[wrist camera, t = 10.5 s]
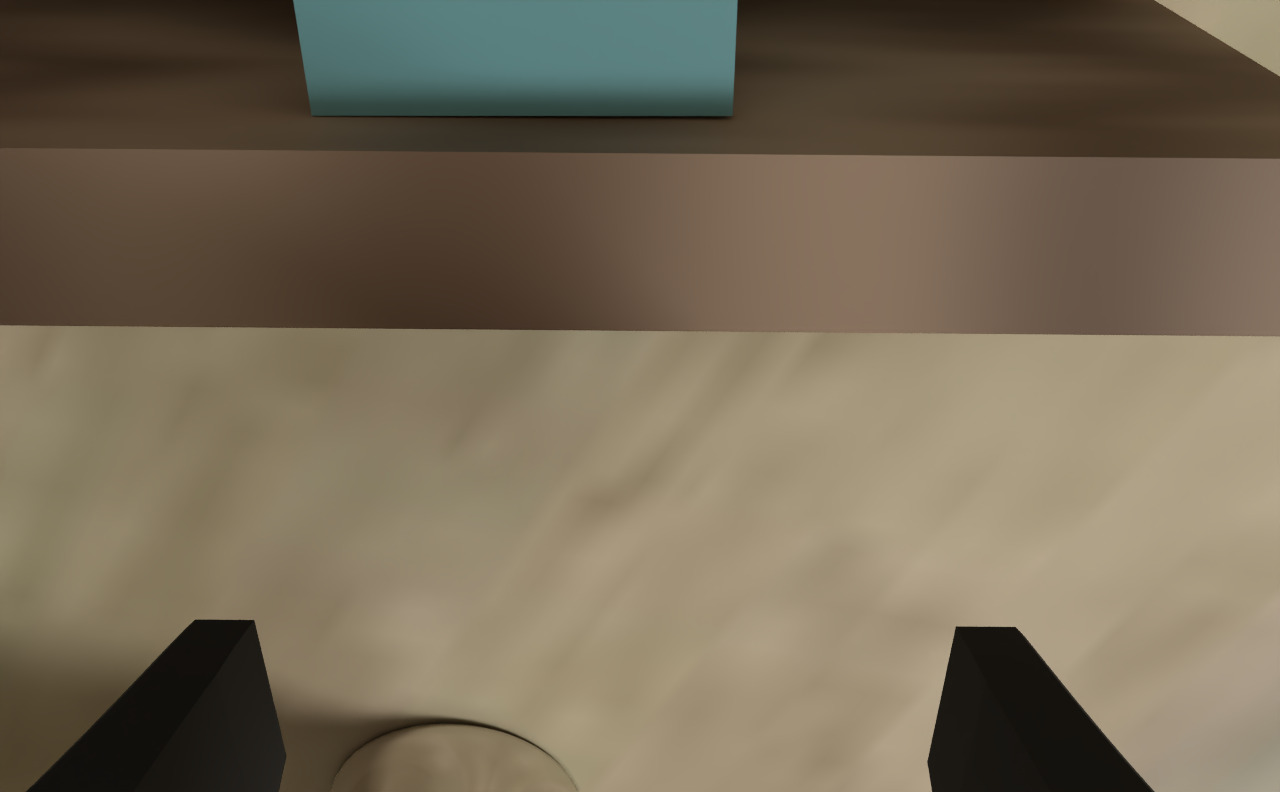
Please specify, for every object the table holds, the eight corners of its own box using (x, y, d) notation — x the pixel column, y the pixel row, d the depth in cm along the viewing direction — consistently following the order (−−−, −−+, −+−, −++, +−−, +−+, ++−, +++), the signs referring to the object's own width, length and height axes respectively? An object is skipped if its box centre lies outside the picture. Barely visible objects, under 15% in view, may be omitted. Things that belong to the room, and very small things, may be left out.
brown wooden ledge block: (3, 116, 18) (-311, 322, 12) (-103, -239, 16) (-569, -195, 10) (1118, 125, 18) (1348, 336, 12) (1203, -229, 15) (1549, -180, 10)
